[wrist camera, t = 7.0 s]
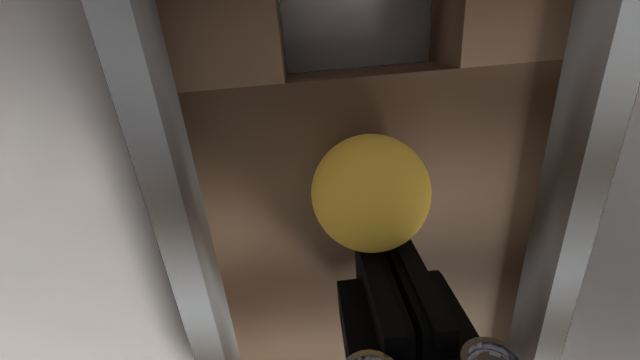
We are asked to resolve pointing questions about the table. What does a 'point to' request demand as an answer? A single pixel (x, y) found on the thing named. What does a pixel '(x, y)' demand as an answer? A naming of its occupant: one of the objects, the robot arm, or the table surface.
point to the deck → (371, 118)
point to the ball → (371, 193)
